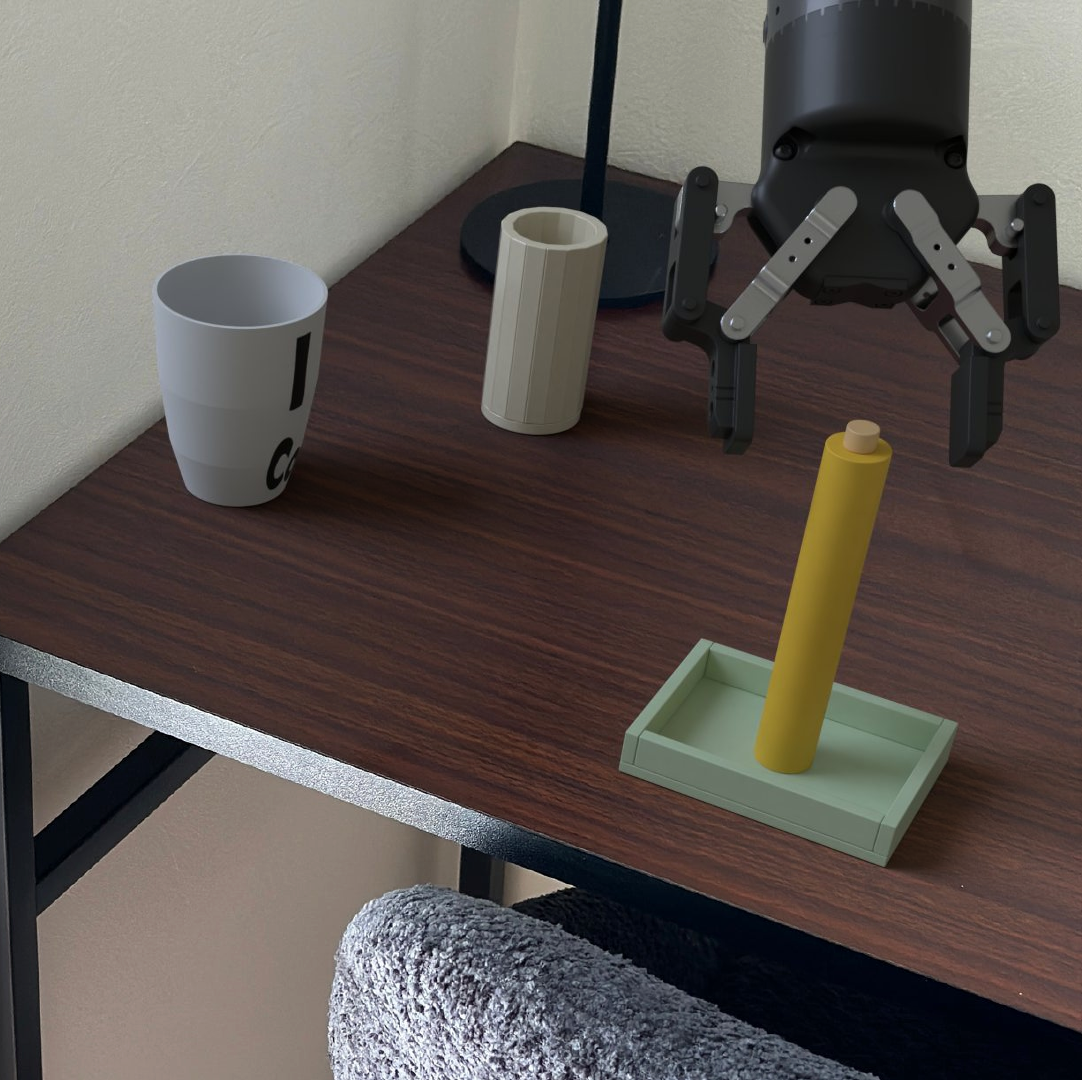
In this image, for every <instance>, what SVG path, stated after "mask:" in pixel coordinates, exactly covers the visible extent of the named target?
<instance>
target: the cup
mask: <svg viewBox="0 0 1082 1080" xmlns="http://www.w3.org/2000/svg"><path fill="white" fill-rule="evenodd" d="M328 296H329V291H328V287H327V284H326V283H325V281H324V280H323V278H321V277H320V276H319V275H318V274H317V273H315V272H314V271H313V270H311V269H309V268H307V267H306V266H303V265H301V264H299V263H296V262H294V261H290V260H287V259H283V258H279V257H275V256H269V255H262V254H253V253H218V254H217V253H216V254H210V255H203V256H198V257H194V258H190V259H186V260H183V261H180V262H178V263H176V264H174V265H172V266H169V267H168V268H166V269H165V270H163V271H162V272H161V273H160V274H159V275H158V276H157V277H156V279H155V280H154V282H153V283H152V302H153V303H152V305H153V319H154V335H155V350H156V363H157V364H156V365H157V376H158V381H159V382H158V383H159V386H160V393H161V398H162V404H163V410H164V415H165V421H166V426H167V427H166V428H167V432H168V438H169V441H170V444H171V447H172V450H173V453H174V457H175V459H176V462H177V465H178V468H179V471H180V473H181V478H182V479H183V484H184V485H185V488H186V489H187V490H188V491H189V492H190V494H192V495H193V496H194V497H196V498H197V499H200V500H202V501H204V502H206V503H210V504H213V505H217V506H223V507H250V506H251V507H252V506H257V505H260V504H264V503H267V502H269V501H271V500H274V499H275V498H277V497H278V496H280V495H281V494H282V493H283V492H284V490H285V488H286V486H287V484H288V481H289V478H290V476H291V473H292V472H293V471H292V470H293V468H294V466H295V464H296V461H297V458H298V457H299V454H300V452H301V451H300V450H301V448H302V446H303V444H304V440H305V435H306V431H307V426H308V423H309V419H310V413H311V409H312V405H313V400H314V396H315V392H316V387H317V383H318V379H319V373H320V364H321V356H322V348H323V347H322V346H323V339H324V329H325V320H326V313H327V306H328V305H327V304H328Z"/></svg>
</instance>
